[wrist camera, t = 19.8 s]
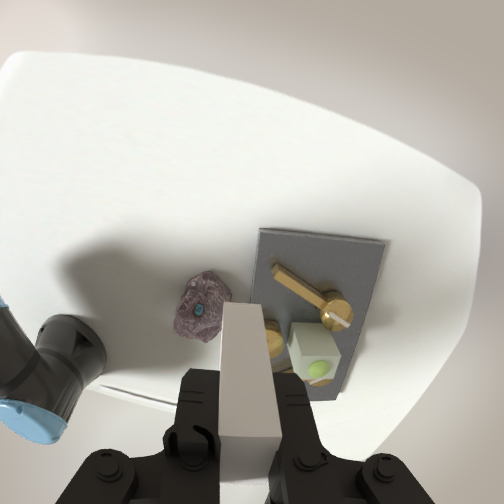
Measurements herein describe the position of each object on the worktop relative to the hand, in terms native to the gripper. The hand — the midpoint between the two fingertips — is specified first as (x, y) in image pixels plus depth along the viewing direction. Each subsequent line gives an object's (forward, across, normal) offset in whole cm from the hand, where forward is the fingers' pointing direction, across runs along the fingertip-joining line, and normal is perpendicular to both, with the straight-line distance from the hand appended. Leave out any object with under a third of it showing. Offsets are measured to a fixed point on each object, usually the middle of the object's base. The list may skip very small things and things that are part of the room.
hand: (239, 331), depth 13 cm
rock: (+35, -3, -19) cm, 40 cm away
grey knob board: (+34, +14, -22) cm, 43 cm away
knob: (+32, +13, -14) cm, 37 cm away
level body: (+32, +14, -22) cm, 42 cm away
